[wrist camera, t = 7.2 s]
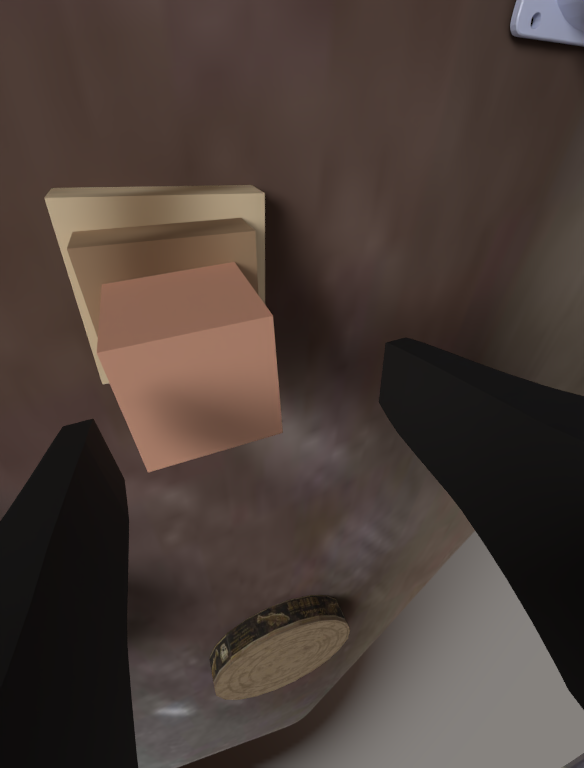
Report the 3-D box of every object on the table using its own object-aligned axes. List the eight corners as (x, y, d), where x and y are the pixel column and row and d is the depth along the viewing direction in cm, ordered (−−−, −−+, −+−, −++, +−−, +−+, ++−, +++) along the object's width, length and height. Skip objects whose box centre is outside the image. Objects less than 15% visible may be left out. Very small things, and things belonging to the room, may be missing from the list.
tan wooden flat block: (241, 217, 15) (255, 230, 13) (250, 349, 18) (262, 371, 17) (72, 231, 13) (66, 249, 12) (119, 373, 17) (119, 400, 15)
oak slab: (247, 182, 17) (264, 193, 15) (251, 335, 21) (265, 358, 19) (53, 185, 14) (44, 197, 12) (103, 355, 19) (102, 384, 17)
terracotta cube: (248, 363, 16) (282, 432, 13) (141, 389, 15) (148, 472, 12) (234, 261, 14) (273, 315, 10) (101, 284, 13) (96, 353, 9)
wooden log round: (250, 678, 50) (257, 705, 47) (179, 657, 39) (183, 691, 37) (354, 613, 50) (365, 637, 47) (310, 575, 39) (322, 604, 37)
